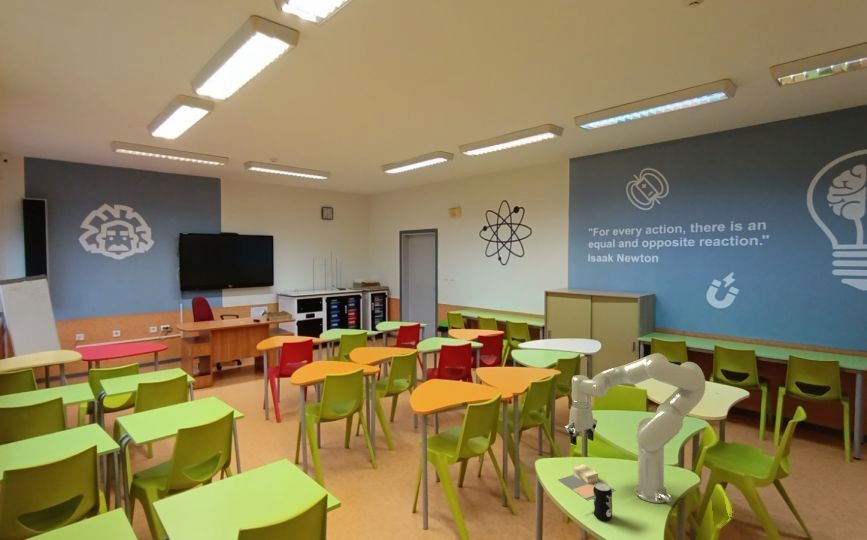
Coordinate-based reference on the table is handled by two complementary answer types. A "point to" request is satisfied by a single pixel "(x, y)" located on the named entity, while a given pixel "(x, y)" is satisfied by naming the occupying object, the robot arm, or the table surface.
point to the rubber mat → (580, 486)
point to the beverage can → (602, 501)
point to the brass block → (585, 474)
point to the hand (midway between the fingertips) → (582, 441)
